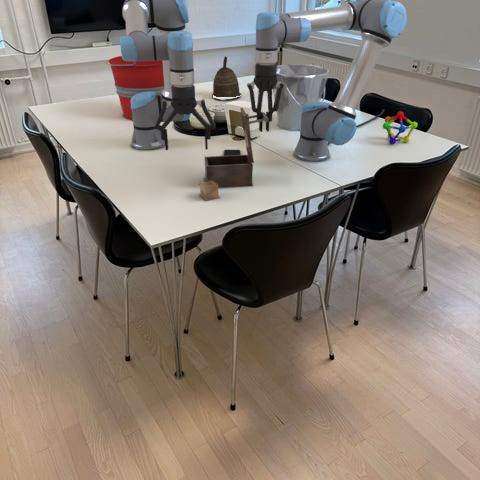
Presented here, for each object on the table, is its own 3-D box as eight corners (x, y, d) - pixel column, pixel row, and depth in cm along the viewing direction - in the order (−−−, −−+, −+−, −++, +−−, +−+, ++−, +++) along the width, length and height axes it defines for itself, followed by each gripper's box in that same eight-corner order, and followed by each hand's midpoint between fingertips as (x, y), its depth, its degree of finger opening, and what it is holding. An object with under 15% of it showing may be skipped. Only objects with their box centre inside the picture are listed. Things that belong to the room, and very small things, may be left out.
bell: (227, 105, 294) (202, 96, 282) (238, 66, 289) (213, 55, 277) (243, 108, 280) (217, 98, 268) (255, 66, 275) (229, 55, 263)
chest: (207, 188, 167) (206, 166, 163) (205, 177, 176) (204, 156, 171) (252, 185, 169) (252, 164, 165) (248, 175, 178) (248, 154, 173)
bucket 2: (296, 138, 215) (301, 78, 201) (255, 124, 234) (256, 68, 219) (335, 125, 232) (342, 70, 217) (294, 113, 251) (297, 61, 236)
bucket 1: (122, 105, 264) (115, 51, 248) (181, 105, 263) (177, 51, 248) (106, 122, 235) (96, 62, 219) (171, 123, 234) (167, 63, 218)
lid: (244, 116, 155) (268, 111, 155) (240, 108, 163) (263, 103, 163) (251, 163, 164) (274, 158, 165) (247, 153, 173) (268, 149, 173)
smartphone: (222, 162, 187) (224, 149, 200) (222, 163, 188) (224, 150, 200) (240, 162, 187) (240, 149, 200) (240, 163, 188) (240, 151, 200)
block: (206, 200, 159) (205, 188, 156) (200, 195, 162) (199, 182, 160) (218, 197, 161) (218, 185, 158) (212, 192, 164) (212, 180, 162)
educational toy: (377, 146, 209) (379, 114, 202) (384, 138, 219) (386, 107, 211) (411, 149, 202) (415, 116, 195) (417, 141, 212) (420, 109, 204)
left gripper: (142, 87, 138) (149, 153, 149) (222, 87, 139) (223, 151, 150) (145, 82, 144) (151, 145, 155) (221, 81, 145) (222, 144, 156)
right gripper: (246, 65, 147) (245, 134, 160) (289, 64, 149) (285, 132, 161) (243, 61, 153) (242, 128, 166) (284, 60, 155) (281, 126, 168)
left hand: (186, 148), depth 153 cm, fingers open, 13 cm apart
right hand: (264, 130), depth 164 cm, fingers closed on lid, 2 cm apart
